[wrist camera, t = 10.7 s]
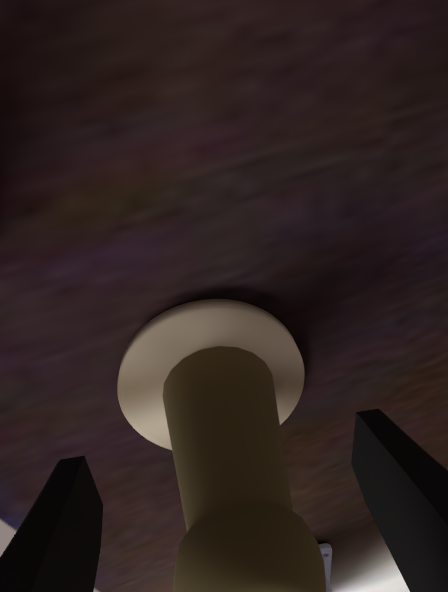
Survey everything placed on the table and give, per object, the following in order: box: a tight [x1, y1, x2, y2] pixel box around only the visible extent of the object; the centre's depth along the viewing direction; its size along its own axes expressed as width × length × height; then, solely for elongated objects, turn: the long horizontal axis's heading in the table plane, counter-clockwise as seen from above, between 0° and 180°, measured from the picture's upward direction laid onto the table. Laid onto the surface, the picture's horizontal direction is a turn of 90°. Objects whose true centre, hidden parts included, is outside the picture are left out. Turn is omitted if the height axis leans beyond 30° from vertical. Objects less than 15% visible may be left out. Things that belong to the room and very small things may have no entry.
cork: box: [162, 346, 326, 592], centre depth 18 cm, size 6×6×11 cm
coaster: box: [118, 299, 305, 450], centre depth 23 cm, size 10×10×1 cm
